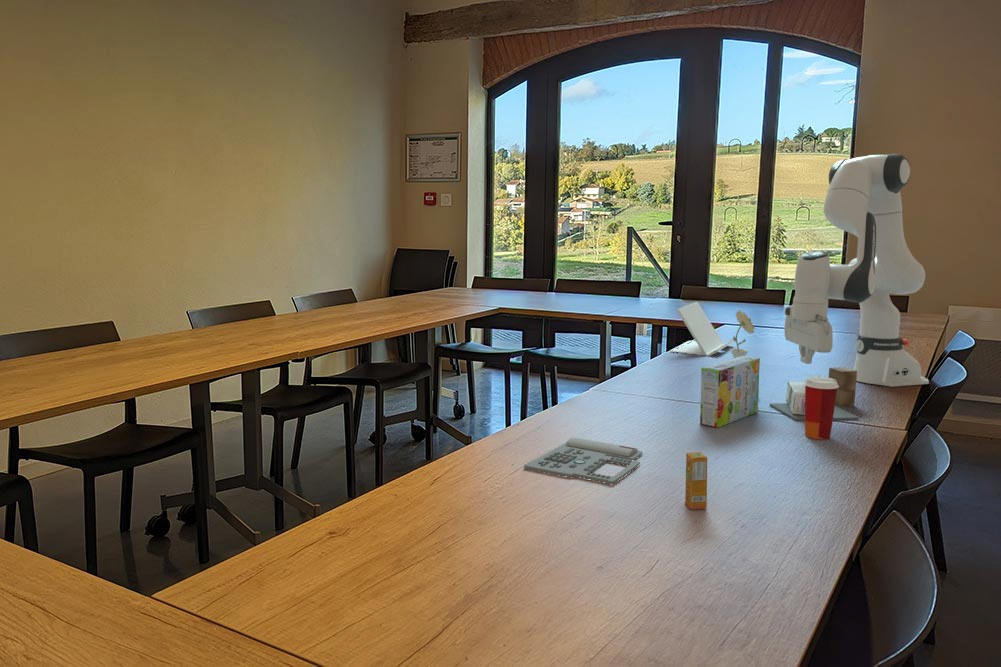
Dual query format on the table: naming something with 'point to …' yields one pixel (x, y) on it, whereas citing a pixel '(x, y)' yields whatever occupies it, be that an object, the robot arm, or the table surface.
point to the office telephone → (585, 459)
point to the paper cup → (819, 406)
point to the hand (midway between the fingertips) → (805, 362)
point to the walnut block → (844, 385)
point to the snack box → (729, 390)
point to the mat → (784, 408)
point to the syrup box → (796, 397)
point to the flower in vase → (748, 327)
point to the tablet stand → (699, 332)
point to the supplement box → (696, 480)
